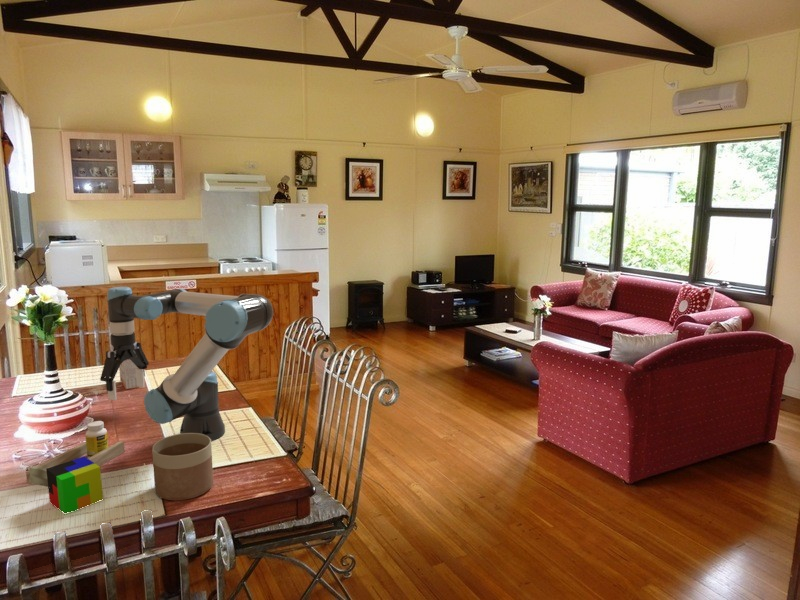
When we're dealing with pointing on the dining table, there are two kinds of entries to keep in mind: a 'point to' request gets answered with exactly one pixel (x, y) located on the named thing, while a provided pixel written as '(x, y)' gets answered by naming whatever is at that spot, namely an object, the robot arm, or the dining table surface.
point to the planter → (182, 466)
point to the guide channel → (39, 472)
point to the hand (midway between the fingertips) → (127, 393)
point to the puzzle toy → (74, 484)
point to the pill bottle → (96, 438)
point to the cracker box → (128, 374)
